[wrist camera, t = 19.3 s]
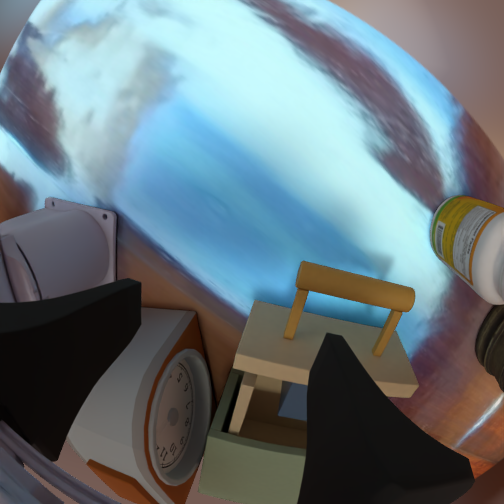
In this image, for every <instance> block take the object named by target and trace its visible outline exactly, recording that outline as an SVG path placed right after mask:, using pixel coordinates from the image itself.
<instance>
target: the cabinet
mask: <svg viewBox="0 0 504 504" xmlns="http://www.w3.org/2000/svg"><path fill="white" fill-rule="evenodd" d="M244 373H245V371H242V370H238V369H234V368H233V367H232V369H231V372H230V374H229V377H228V380H227V383H226V386H225V389H224V391H223V394H222V397H221V400H220V402H219V405H218V408H217V411H216V414H215V416H214V419H213V422H212V425H211V427H210V430H209V433H208V436H207V441H206V447H205V453H204V459H203V465H202V470H201V476H200V482H199V488H198V492H199V493H202V494H206V495H209V496H213V497H217V498H221V499H225V500H229V501H233V502H238V503H243V504H297V501H298V497H299V492H300V487H301V482H302V477H303V471H304V464H305V458H306V449H303V448H296V447H289V446H283V445H278V444H272V443H267V442H262V441H257V440H253V439H248V438H244V437H240V436H236V435H232V434H228V430H229V427H230V423H231V420H232V416H233V412H234V409H235V405H236V402H237V398H238V394H239V391H240V387H241V383H242V380H243V377H244Z"/></svg>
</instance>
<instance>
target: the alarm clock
mask: <svg viewBox="0 0 504 504" xmlns="http://www.w3.org/2000/svg"><path fill="white" fill-rule="evenodd" d="M141 323H142V325H141V326H140V328H139V329H138V331H137V333H136V334H135V336H134V338H133V339H132V341H131V342H130V344H129V345H128V346H127V347H126V348H125V350H124V351H123V352H122V353H121V354H120V355H119V357H118V358H117V359H116V360H115V361H114V362H113V364H112V365H111V366H110V367H109V368H108V370H107V371H106V372H105V373H104V374H103V375H102V377H101V378H100V379H99V380H98V382H97V383H96V384H95V386H94V387H93V389H92V391H91V392H90V394H89V395H88V397H87V399H86V400H85V402H84V404H83V405H82V407H81V409H80V411H79V413H78V414H77V416H76V418H75V420H74V422H73V424H72V426H71V428H70V431H69V433H68V435H67V437H66V440H67V442H68V443H69V445H70V446H71V447H72V449H73V450H74V451H75V452H76V453H77V454H78V456H79V457H81V459H82V460H83V461H84V462H85V463H86V464H87V465H88V466H89V468H90V469H91V470H92V471H93V472H94V473H95V474H96V475H97V476H98V477H99V478H100V479H101V480H102V481H103V482H105V484H107V485H108V486H109V487H110V488H111V489H112V490H113V491H114V492H115V493H116V494H117V495H119V496H120V497H122V498H125V499H127V500H129V501H132V502H134V503H137V504H185V502H186V499H187V497H188V494H189V492H190V489H191V486H192V484H193V481H194V478H195V475H196V473H197V470H198V467H199V465H200V462H201V459H202V457H203V454H204V451H205V447H206V441H207V436H208V433H209V430H210V427H211V425H212V422H213V419H214V416H215V414H216V411H217V408H216V404H215V400H214V396H213V392H212V387H211V381H210V374H209V371H208V368H207V364H206V360H205V355H204V350H203V345H202V340H201V335H200V330H199V325H198V319H197V314H196V312H195V311H183V310H170V309H157V308H146V307H141Z"/></svg>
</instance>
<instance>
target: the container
mask: <svg viewBox="0 0 504 504" xmlns="http://www.w3.org/2000/svg"><path fill="white" fill-rule="evenodd" d="M476 354H477V358H478V360H479V362H480V364H481V365H482V366H484V367H485V369H486V371H487V373H489V374H490V375H493V376H495V378H496V380H497V382H498V383H499V386H500V389H501V390H502V391H503V392H504V304H503V305H496V306H495V307H494V308H493V309H492V311H491V312H490V313H489V315H488V316H487V318H486V319H485V321H484V323H483V325H482V327H481V329H480V331H479V334H478V337H477V341H476Z"/></svg>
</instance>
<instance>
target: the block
mask: <svg viewBox="0 0 504 504" xmlns="http://www.w3.org/2000/svg"><path fill="white" fill-rule="evenodd" d="M307 387H308V385H303V384H298V383H293V382H288V381H284V380H282V386H281V394H280V401H279V408H278V416H282V417H288V418H293V419H299V420H305V421H307Z"/></svg>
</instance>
